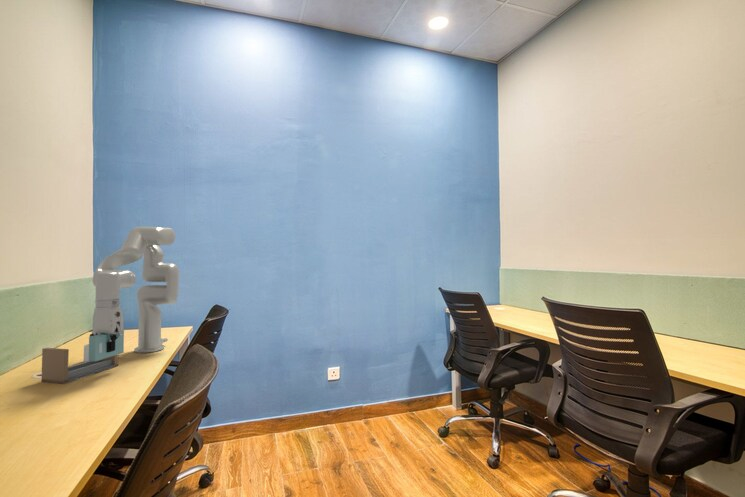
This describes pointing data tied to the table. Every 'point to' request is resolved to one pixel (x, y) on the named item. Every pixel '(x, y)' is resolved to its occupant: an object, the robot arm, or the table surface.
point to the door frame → (58, 367)
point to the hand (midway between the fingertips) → (106, 350)
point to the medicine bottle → (87, 351)
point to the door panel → (104, 347)
